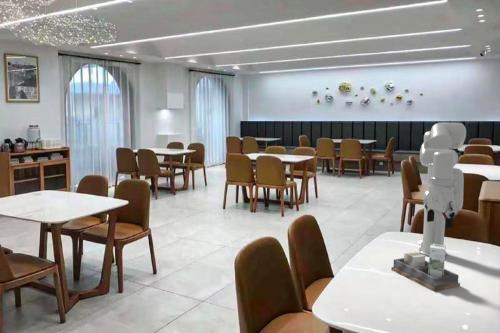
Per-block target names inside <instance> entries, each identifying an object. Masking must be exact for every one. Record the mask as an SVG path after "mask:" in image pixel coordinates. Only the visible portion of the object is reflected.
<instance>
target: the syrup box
mask: <svg viewBox="0 0 500 333" xmlns="http://www.w3.org/2000/svg"><path fill="white" fill-rule="evenodd" d="M446 247H447V246H446V245H445V244H444V245H438V244H431V245H430V256H428V257H429V259H428V262H429V272H428V275H430V276H432V277H434V278H438V277H444V269H445V260H446V256H445V251H446V249H447V248H446Z"/></svg>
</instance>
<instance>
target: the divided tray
mask: <svg viewBox="0 0 500 333" xmlns="http://www.w3.org/2000/svg"><path fill="white" fill-rule="evenodd" d="M403 256H404V257H401V258H396V259H393V266H392V267H391V271H393V272H395V273H397V274H398V275H401V276H403V277H404V278H406V279H409V280H411V281H413V282H415V283H417V284H418V285H420V286H422V287H424V288H426V289H427V290H430V291H432V292H437V291H442V290H447V289H453V288H457V287H458V288H459V287H460V286H461V283H460V282H459V276H460V275H459V274H457V273H455V272H452V271H451V270H448V269H445V268H444V277H438V278H434V277H432V276H430V275H428V272H429V260H428V261H427V260H426V255H423V254H421V253H420V252H419V251H418V252H417V251H411V252H410V251H409V252H404V255H403Z"/></svg>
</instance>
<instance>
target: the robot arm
mask: <svg viewBox="0 0 500 333" xmlns="http://www.w3.org/2000/svg"><path fill="white" fill-rule="evenodd" d="M466 137H467V128H466V126H465V125H464V124H463V123H461V122H445V121H444V122H437V123H435V124H434V125H432V127H431V129H430V130H428V131H426V132H424V135H423V142H422V144H421V146H420V150H419V162H420V164H421V165H422V166H423V167H427V183H428V185H429V188H428V189H427V190H426V191H424V193H423V197H422V198H423V199H422V200H423V201H422V202H423V212H424V213H423V229H422V230H423V233H422V239H420V240H419V241H418V242H417V245H419V246H420V247H419V248H418V253H420V254H422V255H425V257H426V256H427V257H429V256H430V245H431V244H438V245H445V244H444V242H445V229H449V228H450V229H451V228H453V225H454V218H455V217H456V216H458V213H459V211H460V210H462V209H463V206H464V189H465V188H464V183H465V180H464V179H465V178H464V173H463V170H462V169H460V168H456V167H455V166H456V165H457V164H458V160H459V155H458V153H457V151H456V150H455V149H461V148H462V147H463V145H464V143H465V141H466ZM443 213H444V214H445V216H446V217H445V216H444V214H443ZM446 256H447V251H446V250H445V257H446Z"/></svg>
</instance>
